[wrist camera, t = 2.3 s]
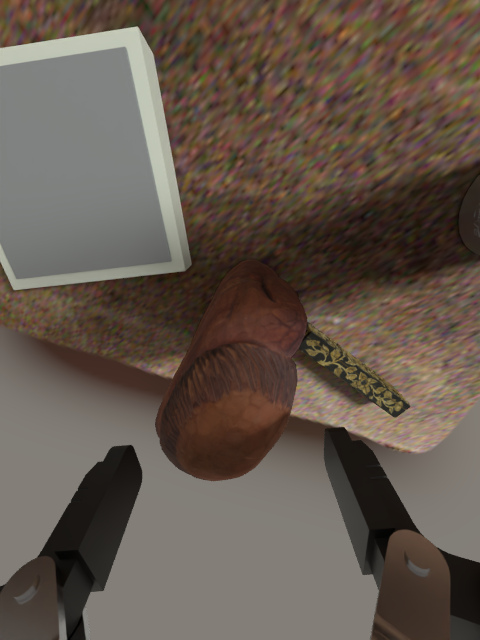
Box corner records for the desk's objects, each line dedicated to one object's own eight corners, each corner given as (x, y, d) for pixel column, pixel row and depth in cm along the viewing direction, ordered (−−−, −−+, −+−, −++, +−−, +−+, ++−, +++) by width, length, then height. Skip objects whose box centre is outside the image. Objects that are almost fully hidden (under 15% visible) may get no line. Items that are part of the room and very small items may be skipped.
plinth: (153, 54, 20) (136, 23, 16) (191, 264, 26) (184, 271, 22) (-44, 85, 20) (-98, 60, 17) (39, 281, 26) (10, 291, 23)
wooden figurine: (235, 360, 30) (228, 543, 13) (186, 335, 29) (110, 503, 12) (293, 274, 26) (385, 383, 9) (239, 241, 25) (235, 299, 8)
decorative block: (395, 387, 32) (413, 407, 28) (380, 399, 32) (396, 420, 29) (304, 317, 28) (312, 330, 25) (289, 332, 29) (296, 348, 26)
